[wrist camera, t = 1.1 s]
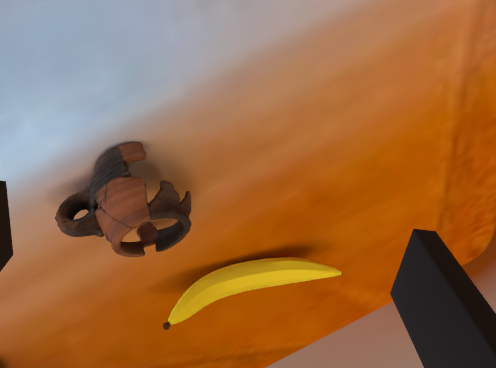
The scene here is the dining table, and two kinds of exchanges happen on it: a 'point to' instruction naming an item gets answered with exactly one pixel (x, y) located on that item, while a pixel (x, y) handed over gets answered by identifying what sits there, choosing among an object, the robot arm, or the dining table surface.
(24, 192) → the dining table surface
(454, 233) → the dining table surface
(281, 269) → the banana
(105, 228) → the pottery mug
